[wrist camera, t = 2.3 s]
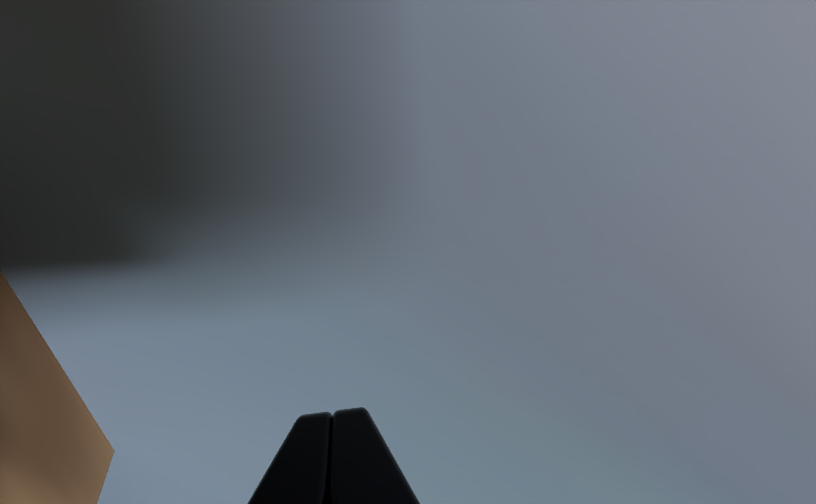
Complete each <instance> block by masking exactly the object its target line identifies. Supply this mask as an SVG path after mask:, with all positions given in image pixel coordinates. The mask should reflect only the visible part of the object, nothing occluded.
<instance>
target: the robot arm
mask: <svg viewBox="0 0 816 504" xmlns="http://www.w3.org/2000/svg"><path fill="white" fill-rule="evenodd" d="M248 504H420V503H419V501H418V500H417V498H416V496H415V494H414V492H413V491H412V489H411V487H410V485H409V484H408V482H407V480H406V478H405V476H404V475H403V473H402V471H401V469H400V468H399V466H398V464H397V462H396V460H395V459H394V457H393V455H392V453H391V452H390V450H389V448H388V446H387V444H386V443H385V441H384V439H383V437H382V436H381V434H380V432H379V430H378V428H377V427H376V425H375V423H374V421H373V420H372V418H371V416H370V414H369V412H368V411H367V410H366V409H365V408H363V407H360V408H352V409H344V410H338V411H336V412H335V413H334V415H332V414H331V413H329V412H321V413H314V414H306V415H302V416H300V417H299V418H298V419H297V420H296V422H295V423H294V425H293V427H292V429H291V430H290V432H289V434H288V435H287V437H286V439H285V441H284V442H283V444H282V446H281V447H280V449H279V451H278V452H277V454H276V456H275V458H274V459H273V461H272V463H271V464H270V466H269V468H268V470H267V471H266V473H265V475H264V476H263V478H262V480H261V482H260V483H259V485H258V487H257V488H256V490H255V492H254V494H253V495H252V497H251V499H250V500H249V502H248Z"/></svg>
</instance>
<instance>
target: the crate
mask: <svg viewBox="0 0 816 504" xmlns="http://www.w3.org/2000/svg"><path fill="white" fill-rule="evenodd" d="M113 453H114V449H113V448H112V446H111V445H110V443H109V441H108V440H107V438H106V437H105V435H104V433H103V432H102V430H101V429H100V427H99V426H98V424H97V422H96V421H95V419H94V418H93V416H92V414H91V413H90V411H89V410H88V408H87V407H86V405H85V403H84V402H83V400H82V399H81V397H80V396H79V394H78V392H77V391H76V389H75V388H74V386H73V384H72V383H71V381H70V380H69V378H68V377H67V375H66V373H65V372H64V370H63V369H62V367H61V365H60V364H59V362H58V361H57V359H56V358H55V356H54V354H53V353H52V351H51V350H50V348H49V346H48V345H47V343H46V342H45V340H44V339H43V337H42V335H41V334H40V332H39V331H38V329H37V327H36V326H35V324H34V323H33V321H32V320H31V318H30V316H29V315H28V313H27V312H26V310H25V308H24V307H23V305H22V304H21V302H20V301H19V299H18V297H17V296H16V294H15V293H14V291H13V289H12V288H11V286H10V285H9V283H8V282H7V280H6V278H5V277H4V275H3V274H2V272H1V270H0V504H97V502H98V499H99V496H100V493H101V490H102V487H103V483H104V480H105V477H106V474H107V471H108V468H109V465H110V462H111V459H112V456H113Z"/></svg>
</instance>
